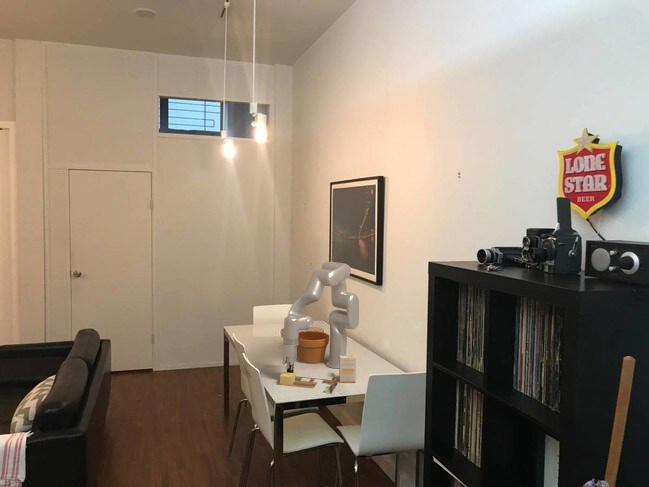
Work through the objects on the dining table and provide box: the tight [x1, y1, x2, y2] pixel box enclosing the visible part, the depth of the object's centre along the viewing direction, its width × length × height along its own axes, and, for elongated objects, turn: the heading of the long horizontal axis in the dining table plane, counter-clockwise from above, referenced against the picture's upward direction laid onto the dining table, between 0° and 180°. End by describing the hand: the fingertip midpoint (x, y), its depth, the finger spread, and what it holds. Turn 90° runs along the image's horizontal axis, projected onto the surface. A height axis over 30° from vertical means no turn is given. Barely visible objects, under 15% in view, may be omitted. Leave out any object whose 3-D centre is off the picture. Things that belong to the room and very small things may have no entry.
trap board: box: [275, 375, 339, 394], centre depth 254 cm, size 15×28×4 cm, turn 77°
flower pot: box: [297, 330, 330, 365], centre depth 297 cm, size 21×21×15 cm
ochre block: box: [279, 371, 296, 385], centre depth 252 cm, size 6×6×4 cm
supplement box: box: [338, 354, 357, 384], centre depth 262 cm, size 8×5×13 cm, turn 92°
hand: (290, 376), depth 258 cm, fingers closed
